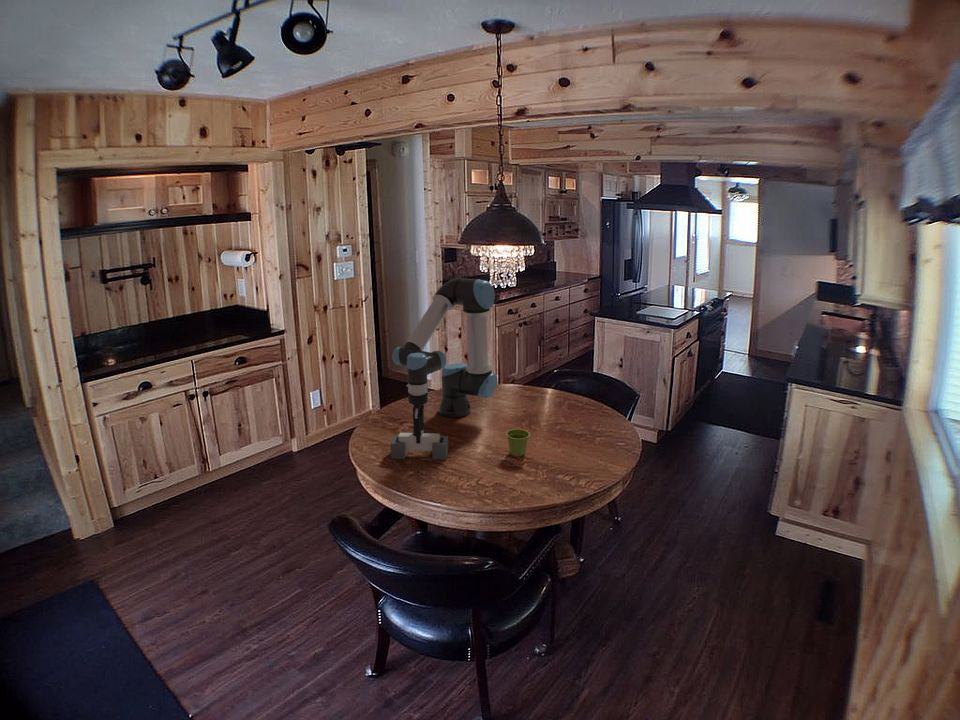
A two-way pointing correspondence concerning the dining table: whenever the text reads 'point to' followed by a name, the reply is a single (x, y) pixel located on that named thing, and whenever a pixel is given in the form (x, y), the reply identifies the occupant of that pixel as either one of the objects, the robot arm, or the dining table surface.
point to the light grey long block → (426, 440)
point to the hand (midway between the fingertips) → (419, 447)
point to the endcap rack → (400, 453)
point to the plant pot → (517, 441)
